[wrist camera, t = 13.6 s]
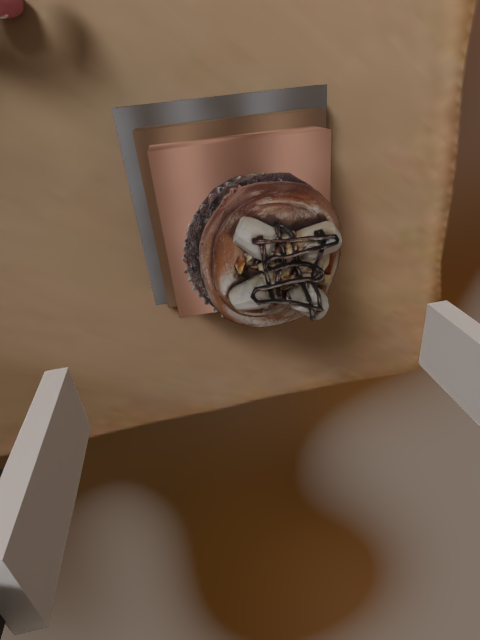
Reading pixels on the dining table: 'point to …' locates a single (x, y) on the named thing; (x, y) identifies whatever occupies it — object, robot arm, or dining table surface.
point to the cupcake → (264, 249)
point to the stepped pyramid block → (212, 165)
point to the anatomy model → (11, 8)
